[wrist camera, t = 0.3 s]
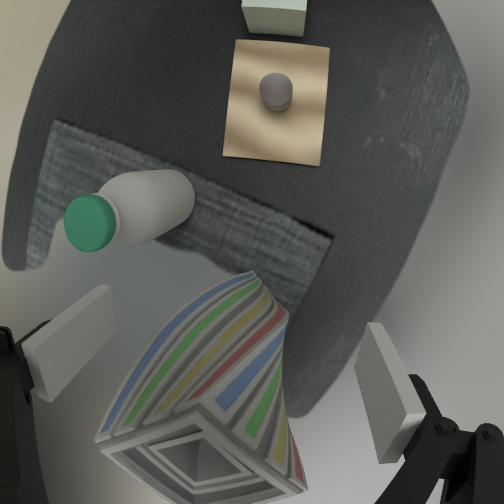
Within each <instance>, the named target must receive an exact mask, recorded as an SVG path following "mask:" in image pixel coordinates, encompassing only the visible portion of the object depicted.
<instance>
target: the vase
mask: <svg viewBox="0 0 504 504" xmlns="http://www.w3.org/2000/svg"><path fill="white" fill-rule="evenodd" d="M288 319H289V312H288V311H287V310H286V309H285V308H284V307H283V306H281V305H280V304H279V303H278V302H277V301H276V300H275V298H274V296H273V295H272V294H271V293H270V292H269V290H268V289H267V288H266V286H265V285H263V284H262V281H261V280H260V279H259V278H258V277H257V276H256V274H255V273H254V271H253V270H251V271H249V272H246V273H241V274H238V275H234V276H231V277H229V278H226V279H224V280H221V281H219V282H217V283H215V284H213V285H212V286H210V287H209V288H206V289H205V290H203V291H201V292H200V293H198V294H197V295H196V296H194V297H193V298H192V299H190V300H189V301H188V302H186V303H185V304H184V305H182V306H181V307H180V308H179V309H178V310H177V311H176V312H175V313H174V314H173V315H171V316H170V317H169V318H168V319H167V320H166V321H165V322H164V323H163V325H162V326H161V327H160V328H159V329H158V330H157V331H156V332H155V334H154V335H153V336H152V337H151V339H150V340H149V341H148V343H147V344H146V346H145V347H144V349H143V350H142V352H141V353H140V355H139V356H138V358H137V359H136V361H135V362H134V364H133V365H132V367H131V369H130V370H129V372H128V374H127V375H126V377H125V378H124V380H123V382H122V384H121V386H120V387H119V389H118V391H117V393H116V395H115V397H114V399H113V401H112V403H111V405H110V406H109V408H108V410H107V412H106V414H105V416H104V418H103V420H102V423H101V425H100V427H99V430H98V432H97V434H96V436H95V439H94V441H95V442H96V443H97V446H98V447H99V448H100V449H101V452H102V453H104V454H105V455H106V456H107V457H108V458H109V459H111V460H112V461H113V462H115V463H116V464H117V465H118V466H119V467H121V468H122V469H123V470H125V471H126V472H127V473H128V474H130V475H131V476H132V477H134V478H135V479H136V480H138V481H139V482H140V483H142V484H143V485H144V486H146V487H147V488H149V489H150V490H152V491H153V492H155V493H156V494H157V495H159V496H161V497H162V498H163V499H165V500H167V501H168V502H170V503H171V504H266V503H270V502H274V501H277V500H281V499H284V498H288V497H291V496H294V495H297V494H299V493H303V492H304V491H308V487H307V482H306V478H305V473H304V469H303V466H302V463H301V460H300V456H299V453H298V450H297V447H296V444H295V442H294V439H293V436H292V433H291V430H290V427H289V423H288V418H287V414H286V407H285V401H284V395H283V384H282V355H283V343H284V337H285V332H286V326H287V322H288Z"/></svg>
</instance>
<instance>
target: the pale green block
mask: <svg viewBox="0 0 504 504" xmlns="http://www.w3.org/2000/svg"><path fill="white" fill-rule="evenodd" d="M306 5H307V0H242V10H243V13H244V16H245V19H246V23H247V26H248V29H249V33H264V34H278V35H289V36H298V37H303V32H304V24H305V16H306Z"/></svg>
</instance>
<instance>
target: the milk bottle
mask: <svg viewBox="0 0 504 504" xmlns="http://www.w3.org/2000/svg"><path fill="white" fill-rule="evenodd" d="M194 204H195V192H194V188H193V186H192V184H191V182H190V181H189V179H188V178H187V177H186V176H185V175H184V174H182V173H181V172H179V171H176V170H172V169H156V170H143V171H133V172H127V173H123V174H120V175H118V176H116V177H114V178H112V179H111V180H109V181H108V182H107V183H105V184H104V185H103V186H102V188H101V189H100V190H99V192H98V193H93V194H88V195H83V196H80V197H77V198H76V199H74V200H73V201H72V202H71V203H70V204H69V205H68V207H67V209H66V212H65V216H64V227H65V232H66V234H67V237H68V239H69V241H70V242H71V243H72V245H73V246H74V247H76V248H77V249H79V250H80V251H83V252H95V251H97V250H100V249H102V248H103V247H105V246H108V245H109V244H111V243H113V244H116V245H120V246H136V245H140V244H144V243H146V242H148V241H150V240H152V239H154V238H156V237H158V236H160V235H162V234H163V233H165V232H167V231H169V230H170V229H172V228H174V227H176V226H177V225H179V224H181V223H182V222H183V221H185V220H186V219H187V218H188V217H189V215H190V214H191V212H192V210H193V208H194Z"/></svg>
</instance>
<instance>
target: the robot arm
mask: <svg viewBox="0 0 504 504" xmlns="http://www.w3.org/2000/svg"><path fill="white" fill-rule="evenodd" d="M115 332H116V325H115V314H114V303H113V289H112V286H106V285H102V284H100V285H99V286H97V287H96V288H95V289H93V290H92V291H91V292H89V293H88V294H86V295H85V296H84V297H82V298H81V299H79V300H78V301H77V302H75V303H74V304H73V305H71V306H70V307H69V308H67V309H66V310H65V311H63V312H62V313H61V314H59V315H58V316H57V317H55V318H54V319H51V320H48V321H46V322H43V323H41V324H40V325H39V326H37V327H36V329H33V330H32V331H31V332H30V333H28V334H27V335H26V336H24V337H23V338H22V339H20V340H19V341H18V342H17V343H16V344H14V340H13V337H12V332H11V330H10V329H9V328H8V327H5V326H0V504H49V502H48V498H47V495H46V490H45V486H44V481H43V476H42V471H41V467H40V461H39V454H38V448H37V441H36V434H35V425H34V416H33V405H32V396H31V393H30V390H31V389H32V388H33V387H35V389H36V392H37V395H38V397H40V398H42V399H44V400H46V401H48V402H52V401H53V400H54V399H55V398H56V397H57V395H58V394H59V393H60V392H61V391H62V390H63V389H64V387H65V386H66V385H67V384H68V383H69V382H70V381H71V380H72V379H73V377H74V376H75V375H76V374H77V373H78V372H79V371H80V370H81V369H82V368H83V367H84V365H85V364H86V363H87V362H88V361H89V360H90V359H91V358H92V357H93V356H94V354H96V352H97V351H98V350H99V349H100V348H101V347H102V346H103V345H104V344H105V343H106V342H107V341H108V340H109V338H110V337H111V336H112V335H113V334H114V333H115ZM354 368H355V372H356V376H357V379H358V383H359V386H360V390H361V394H362V397H363V401H364V405H365V409H366V413H367V416H368V420H369V424H370V428H371V432H372V436H373V440H374V445H375V449H376V453H377V457H378V462H379V464H384V463H397V462H398V460H399V458H400V457H401V455H402V454H404V457H405V462H404V464H403V465H402V467H401V468H400V470H399V471H398V472H397V474H396V476H395V477H394V478H393V480H392V481H391V482H390V484H389V485H388V486H387V488H386V489H385V491H384V492H383V493H382V494H381V496H380V497H379V498H378V500H377V501H376V502H375V503H374V504H425V503H426V502H427V500H428V498H429V496H430V495H431V493H432V491H433V489H434V487H435V485H436V483H437V481H438V479H439V478H440V479H444V485H443V490H442V495H441V500H440V504H504V436H503V433H502V431H501V430H500V429H499V428H498V427H497V426H495V425H492V424H490V423H484V424H481V425H480V426H479V427H478V428H477V429H476V431H475V432H468V431H461V430H459V427H458V425H457V424H456V423H455V422H454V421H452V420H451V419H449V418H446V417H442V415H441V413H440V411H439V409H438V407H437V405H436V403H435V401H434V399H433V397H431V394H430V391H428V388H427V386H426V384H425V382H424V381H423V380H422V379H421V378H420V377H419V376H418V375H416V374H415V375H414V374H409V375H408V374H407V372H406V370H405V368H404V366H403V364H402V362H401V360H400V358H399V356H398V354H397V352H396V350H395V348H394V346H393V344H392V342H391V340H390V338H389V336H388V335H387V333H386V331H385V329H384V327H383V325H382V323H372V322H367V325H366V329H365V333H364V336H363V340H362V343H361V346H360V350H359V353H358V357H357V360H356V363H355V366H354Z"/></svg>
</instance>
